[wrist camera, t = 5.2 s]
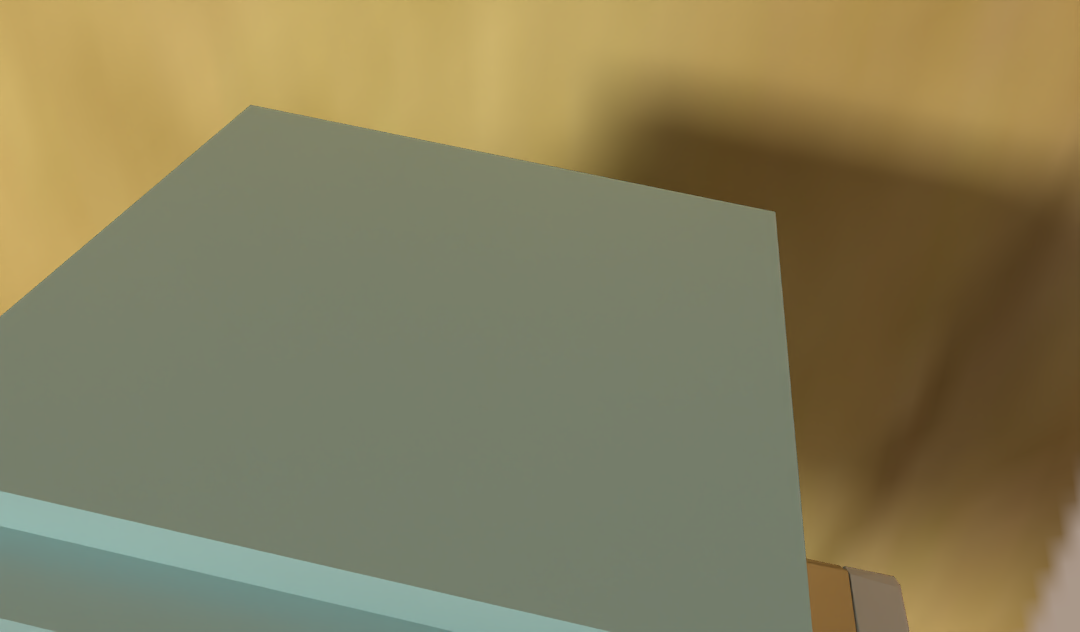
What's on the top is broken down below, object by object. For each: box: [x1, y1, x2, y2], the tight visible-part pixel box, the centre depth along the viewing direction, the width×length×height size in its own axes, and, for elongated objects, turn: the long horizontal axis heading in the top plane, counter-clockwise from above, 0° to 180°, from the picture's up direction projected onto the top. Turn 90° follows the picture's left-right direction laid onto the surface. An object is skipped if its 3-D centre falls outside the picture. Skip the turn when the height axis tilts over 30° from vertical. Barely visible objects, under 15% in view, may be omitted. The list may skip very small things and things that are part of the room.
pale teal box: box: [0, 105, 812, 632], centre depth 10 cm, size 6×6×7 cm
